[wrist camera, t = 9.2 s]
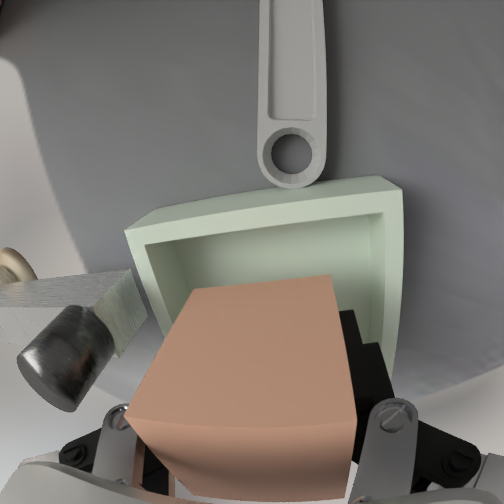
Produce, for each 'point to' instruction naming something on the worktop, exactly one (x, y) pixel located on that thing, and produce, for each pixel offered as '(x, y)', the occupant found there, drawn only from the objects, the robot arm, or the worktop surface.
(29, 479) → the robot arm
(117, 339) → the crank
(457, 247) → the worktop surface
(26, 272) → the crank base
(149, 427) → the block
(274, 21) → the adjustable wrench
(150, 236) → the tray
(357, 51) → the worktop surface
